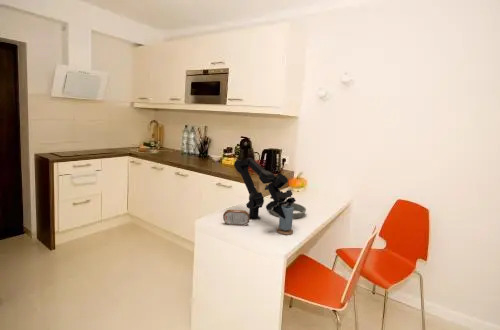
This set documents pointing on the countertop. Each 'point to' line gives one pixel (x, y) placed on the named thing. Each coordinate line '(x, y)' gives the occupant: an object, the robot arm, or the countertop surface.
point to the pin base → (283, 232)
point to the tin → (236, 217)
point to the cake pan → (296, 208)
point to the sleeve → (286, 218)
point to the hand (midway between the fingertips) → (288, 217)
